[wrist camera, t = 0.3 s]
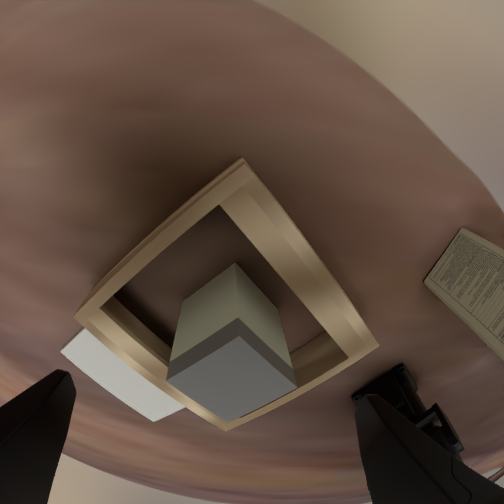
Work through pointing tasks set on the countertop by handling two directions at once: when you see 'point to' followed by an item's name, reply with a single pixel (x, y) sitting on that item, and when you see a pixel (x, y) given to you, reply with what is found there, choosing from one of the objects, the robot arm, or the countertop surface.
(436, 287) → the skincare box
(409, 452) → the robot arm
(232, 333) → the sage box
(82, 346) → the grey mat
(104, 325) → the wooden frame
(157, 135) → the countertop surface
